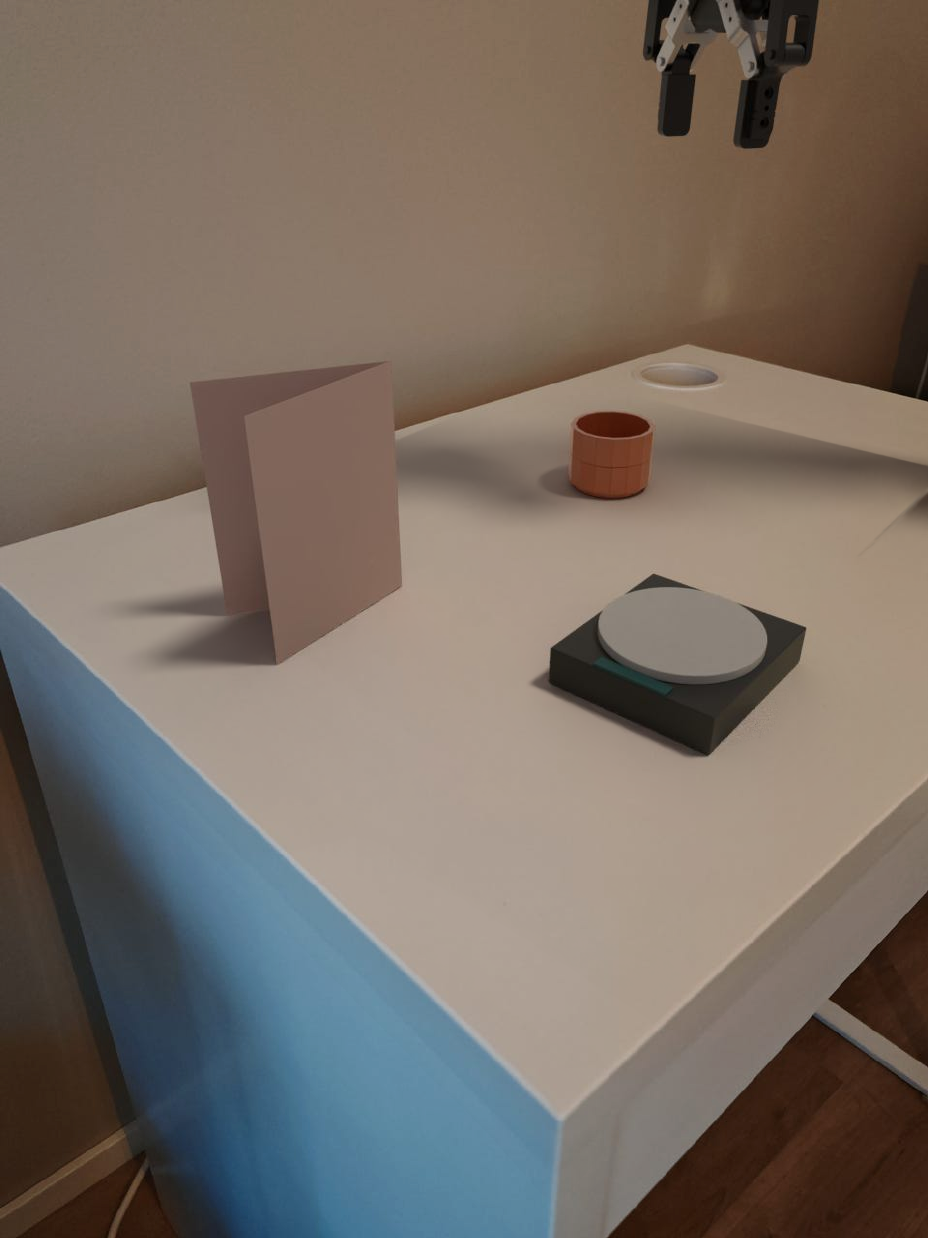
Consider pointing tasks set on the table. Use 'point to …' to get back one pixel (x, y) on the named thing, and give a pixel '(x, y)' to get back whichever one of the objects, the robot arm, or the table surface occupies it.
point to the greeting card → (302, 494)
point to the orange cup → (610, 453)
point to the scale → (677, 660)
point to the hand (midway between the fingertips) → (709, 141)
